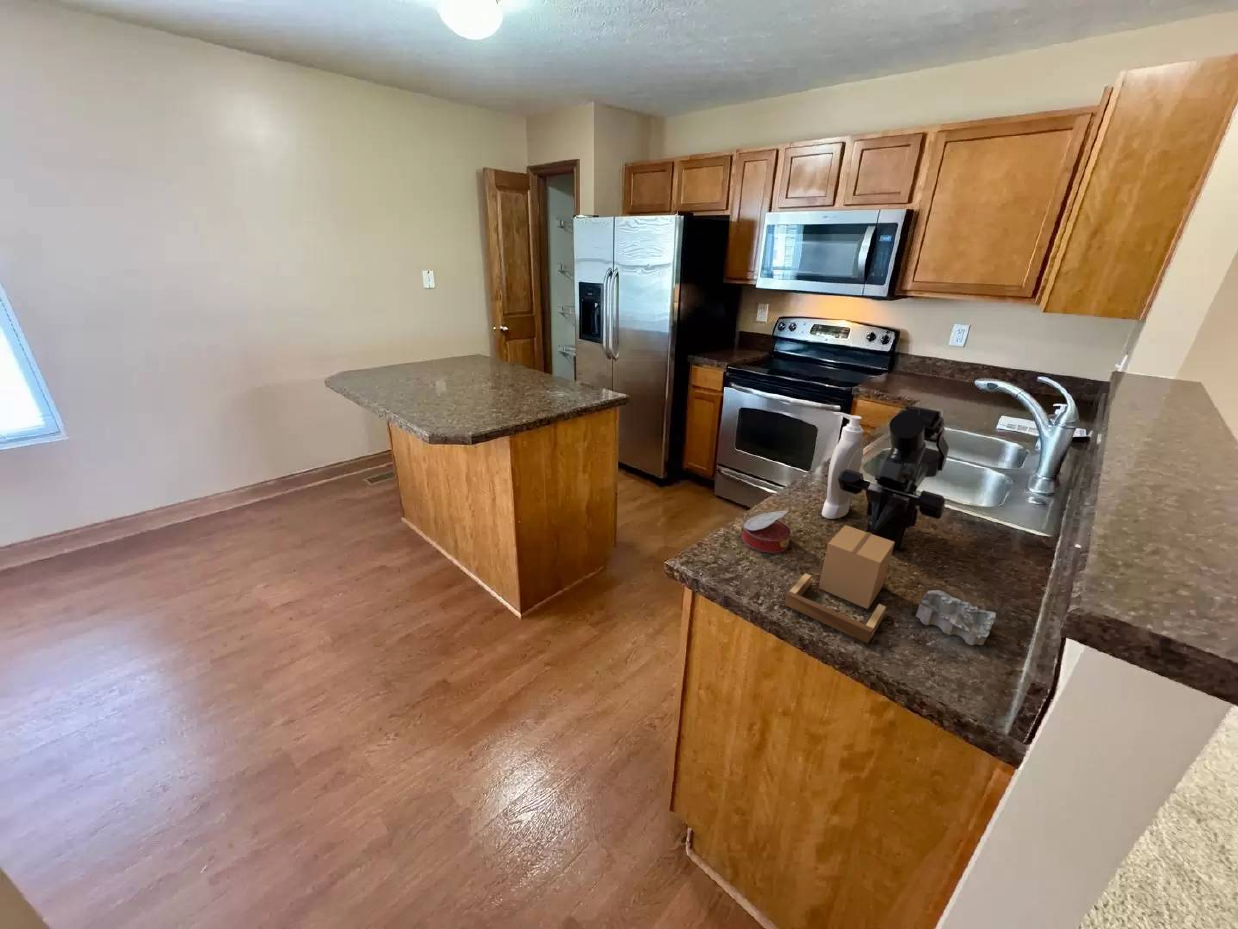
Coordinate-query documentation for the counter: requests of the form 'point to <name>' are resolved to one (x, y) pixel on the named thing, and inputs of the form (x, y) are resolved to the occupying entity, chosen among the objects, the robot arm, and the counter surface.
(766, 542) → the canned food
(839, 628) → the bay
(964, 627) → the egg carton
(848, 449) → the soap bottle
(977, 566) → the counter surface
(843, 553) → the cardboard box
